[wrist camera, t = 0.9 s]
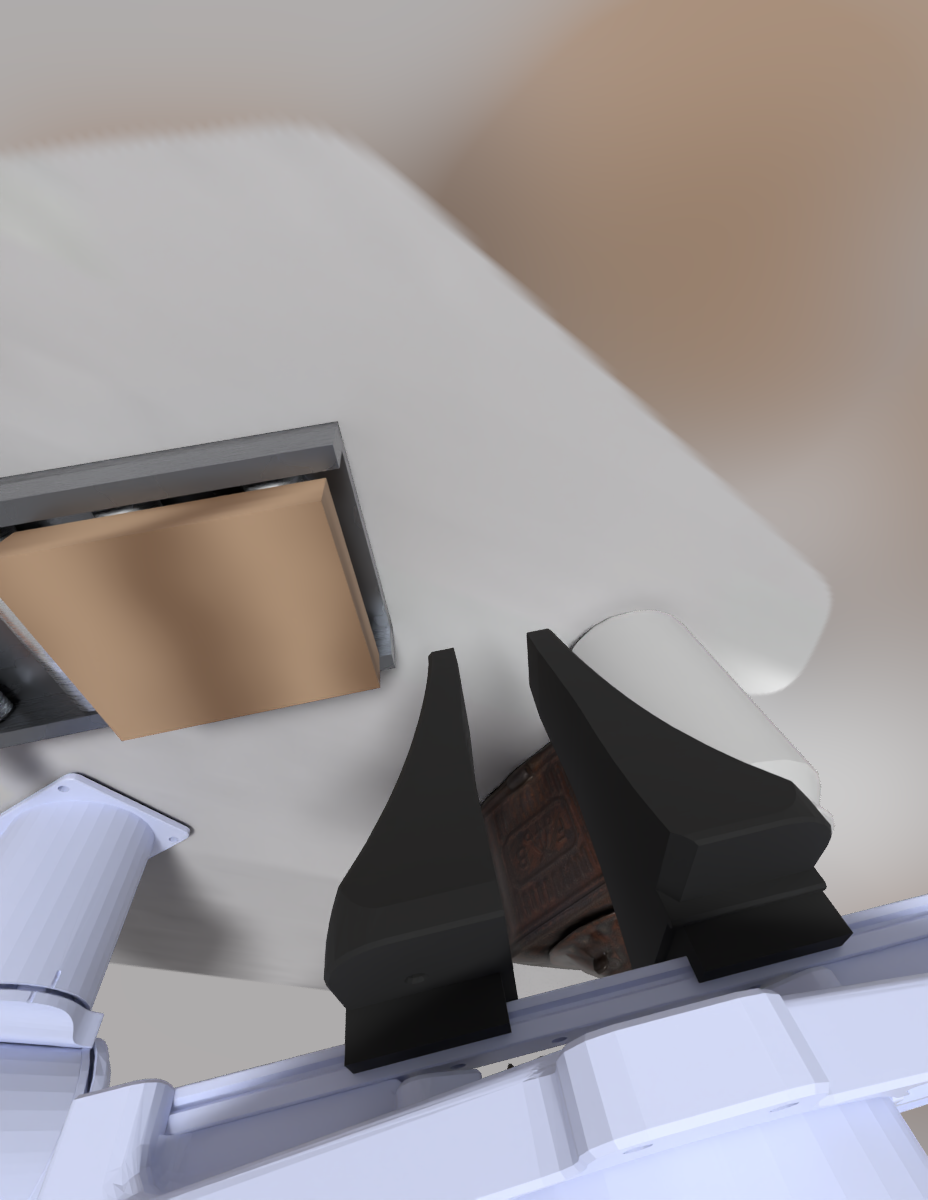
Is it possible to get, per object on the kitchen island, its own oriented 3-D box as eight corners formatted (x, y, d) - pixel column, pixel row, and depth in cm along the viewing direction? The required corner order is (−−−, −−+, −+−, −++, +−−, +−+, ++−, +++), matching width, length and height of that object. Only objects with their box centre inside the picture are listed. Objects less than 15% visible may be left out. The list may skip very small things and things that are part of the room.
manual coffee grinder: (564, 718, 30) (754, 1143, 15) (664, 766, 35) (879, 1120, 20) (421, 845, 35) (459, 1246, 21) (526, 871, 40) (615, 1208, 26)
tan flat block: (325, 477, 16) (321, 500, 14) (379, 654, 20) (380, 687, 19) (13, 532, 15) (-30, 563, 13) (142, 702, 20) (122, 741, 18)
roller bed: (337, 421, 18) (325, 476, 13) (392, 627, 24) (398, 718, 19) (-237, 517, 16) (-493, 619, 12) (-29, 710, 22) (-141, 833, 17)
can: (531, 678, 27) (622, 902, 18) (616, 579, 24) (783, 783, 14) (621, 712, 30) (741, 918, 21) (706, 628, 27) (894, 823, 18)
